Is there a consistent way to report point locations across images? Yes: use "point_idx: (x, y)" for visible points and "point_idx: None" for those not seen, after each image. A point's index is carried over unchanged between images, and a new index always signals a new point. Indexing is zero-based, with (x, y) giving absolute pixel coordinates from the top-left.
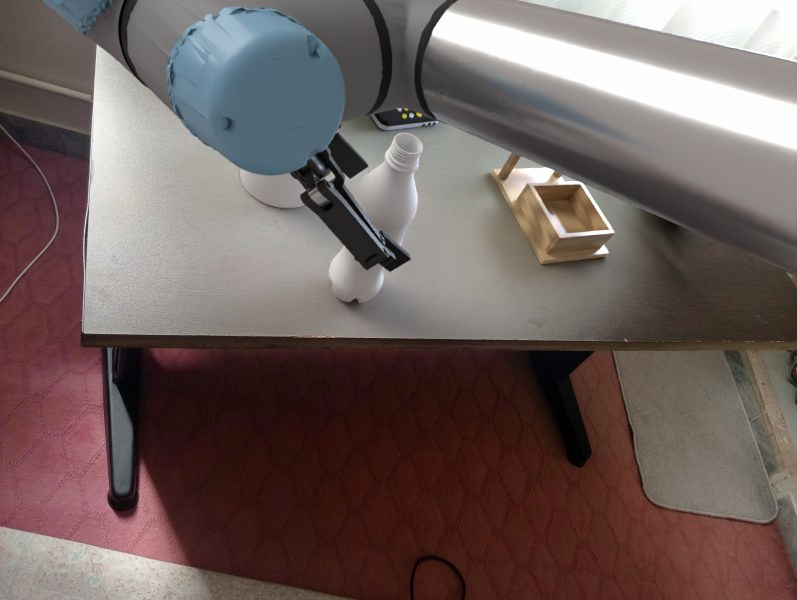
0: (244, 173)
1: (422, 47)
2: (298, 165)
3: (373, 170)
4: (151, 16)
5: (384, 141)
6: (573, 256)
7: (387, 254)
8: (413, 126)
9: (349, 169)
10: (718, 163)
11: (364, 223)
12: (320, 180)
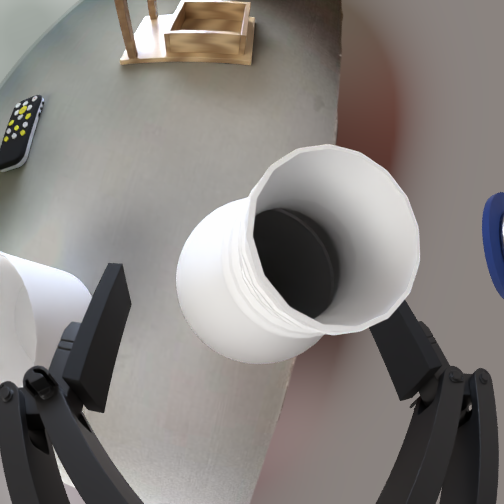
0: None
1: None
2: None
3: (224, 327)
4: None
5: (37, 164)
6: (252, 38)
7: (488, 374)
8: (35, 125)
9: (122, 313)
10: None
11: (481, 440)
12: (72, 285)
